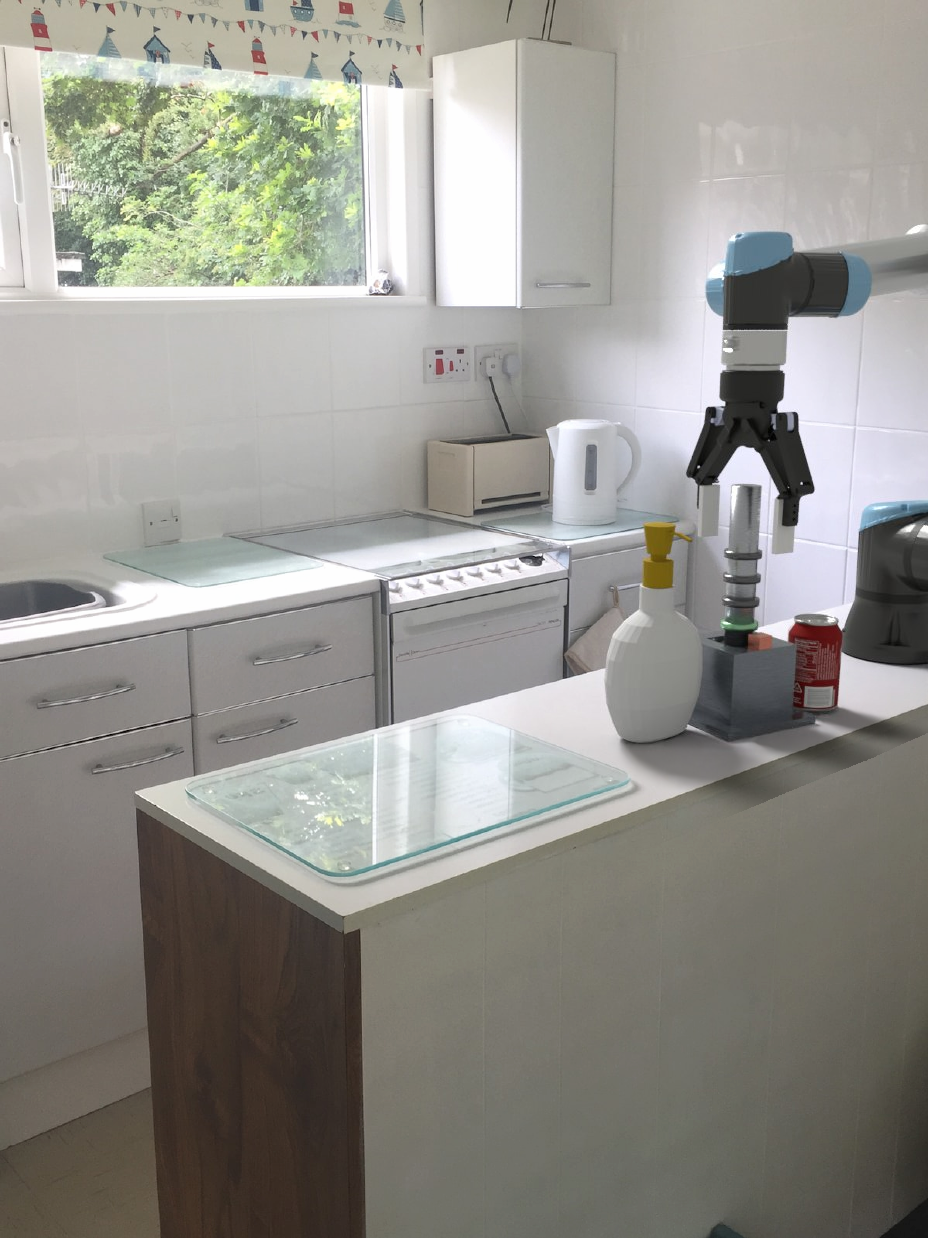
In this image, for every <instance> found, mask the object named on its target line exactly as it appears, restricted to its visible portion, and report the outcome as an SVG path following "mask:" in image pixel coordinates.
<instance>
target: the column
mask: <svg viewBox="0 0 928 1238" xmlns="http://www.w3.org/2000/svg"><path fill="white" fill-rule="evenodd" d="M730 485H731V486H730V487H731V489H730V491H731V492H730V509H729V524H728V525H729V529H728V530H729V531H728V546H727V548H724V549H723V557H724V558H725V559H727V569H726V571H725V572H723V573H722V582H725V583H726V587H725V588H726V591H725V594H724V595H722V596H721V605H722V606H724V609H725V610H724V611H725V612H724V618H722V619H720V627H719V628H721V630H724V640H723V641H721V642H720V643H722V644H725V645H728V646H731V647H734V648H741V647H747V646H748V638H749V634H752V633H754V631H755V632H757V630H759V621H758V620H756V619H755V617H756V616H755V615H756V608H758V607H760V603H761V602H760V600H761V599H760V597H758V596H757V595H756V594H757V584H760V583H761V581H762V574H760V573H759V572H758V562H759V560H761V559H762V558H763V550H761V549H759V544H760V543H759V542H760V523H761V507H762V489H763V488H762V487H763V486H762V485H761V484H755V483H737V484H736V483H733V484H730Z"/></svg>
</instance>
